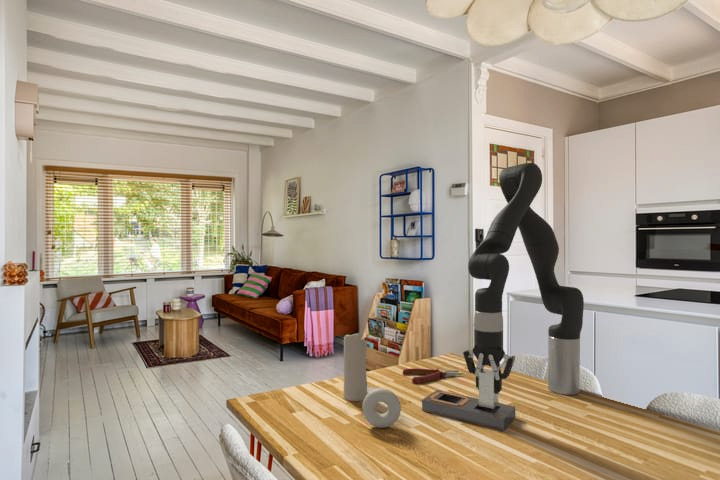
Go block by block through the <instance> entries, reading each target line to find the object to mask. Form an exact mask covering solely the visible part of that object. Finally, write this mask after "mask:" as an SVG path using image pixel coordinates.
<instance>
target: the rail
mask: <svg viewBox="0 0 720 480" xmlns="http://www.w3.org/2000/svg"><path fill="white" fill-rule="evenodd" d="M421 411H422V412H427V413H431V414H436V415H439V416H444V417H447V418H451V419H456V420H458V421H463V422H465V423H466V422H467V423H471V424H475V425H479V426H482V427H487V428H491V429H495V430H497V431H498V430H499V431H502V432H504V431H506V429H507V428H508V427H509V426H510V425H511V423H512V422H513V421H514V420H515V419H516V406H515V405H510V404H504V403H500V402H498V405H497V406H496V407H495V408H494V409H492V408H487V407H482V406H479V398H476V397H472V396H467V395H463V394H459V393H454V392H449V391H446V390H440V389H436V390H435V391H433V392H431V393H430V394H429V395H427V396H426V397H424V398H422V400H421Z"/></svg>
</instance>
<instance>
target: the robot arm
mask: <svg viewBox="0 0 720 480" xmlns="http://www.w3.org/2000/svg"><path fill="white" fill-rule="evenodd" d="M498 182H499V186H500V189H501V192H502V194H503V196H504V199H505V200H506V202H507V204H506V205H505V206H504V207H503V208H502V209H501V210H500V211H499V212H498V213H497V214H496V215H495V217H494V218H493V220H492V221H491V224H490V226H489V228H488V230H487V233H486V236H485V238H483V240H482V241H481V243H480V244H479V245H478V246H477V247H476V249H475V250H474V251H473V252H472V254H471V256H470V258H469V260H468V264H467V267H468V268H467V270H468V273H469V274H470V276H471V277H472V278H473V279H478V280H487V281H488V280H489V281H490V282H489V285H488V287H483V288H478V289H476V291H475V294H474V303H475V304H474V317H473V318H474V319H473V344H474V346H473V348H472V349H466V350H464V351H463V353H462V354H463V358H464V361H465V363H466V367H467V371H468V373H469V374H473V375H474V376H475V388H477V391H479V372H480V371H481V370H483V369H485V366H487V367H490V368H491V370H492V371H493V372H494V374H495V394H498V395H499V393H500V392H501V391H502V389H503V380H506V379H507V378H508V377H510V374H511V371H512V369H513V366H514V363H515V361H516V357H515V356H513V355H512V356H511V355H508V354H506V352H505V350H504V317H503V295H504V290H505V286H506V283H507V279H508V276H509V271H510V263H509V260H508V258H507V257H506V256H505V255H504V253H507V252H508V251H509V250H510V249H511V246H512V243H513V241H514V238H515V236H516V233H517V230H519V233H520V236H521V239H522V241H523V245H524V247H525V250H526V253H527V255H528V257H529V260H530V262H531V265H532V268H533V271H534V273H535V277H536V280H537V285H538V289H539V292H540V293H539V294H540V297H541V300H542V304H543V306H544V308H545V310H547V311H548V312H549V313H551V314H554V315H555V314H556V315H560V316H561V320H560V322H559V323H558V324H557V323H556V324H552V325H549V327H548V329H547V330H548V331H547V332H548V335H547V336H548V337H547V338H548V342H547V343H548V345H547V346H548V347H547V350H548V351H547V357H548V358H547V360H548V361H547V364H548V365H547V390H549V391H551V392H552V393H556V394H559V395H565V396H566V395H567V396H573V395H578V394H580V382H581V380H580V379H581V377H580V375H581V374H580V373H581V369H580V368H581V367H580V365H581V333H582V329H583V322H584V321H583V320H584V310H585V309H584V308H585V306H584V305H585V302H584V300H585V299H584V295H583V292H582V291H581V290H580V289H579V288H577V287H574V286H566V285H560V284H559V282H558V280H557V276H556V274H555V273H556V272H555V266H556V263H557V260H558V256H559V253H560V247H559V244H558V240H557V237H556V234H555V232H554V230H553V228H552V226H551V225H550V224H549V223H548V221H546V220H545V219H544V218H542V217H541V216H540V215H539V214H538V213H537V212H536V211H534V210H533V209H532V208H531V205H532V203H533V201H534V199H535V198H536V196H537V195H538V193H539V191H540V189H541V187H542V184H543V173H542V170H541V169H540V167H539V166H538V164H537V163H534V162H525V163H521V164H516V165H512V166H507V167H505V168H503V169H501V171H500V173H499V177H498ZM474 356H475V358H476V359H477V362H476V364H475V362H474V361H475V360H474V359H473V358H474ZM503 359H504V363H505V366H504V369H503V372H502V366H501V361H502V360H503Z"/></svg>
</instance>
